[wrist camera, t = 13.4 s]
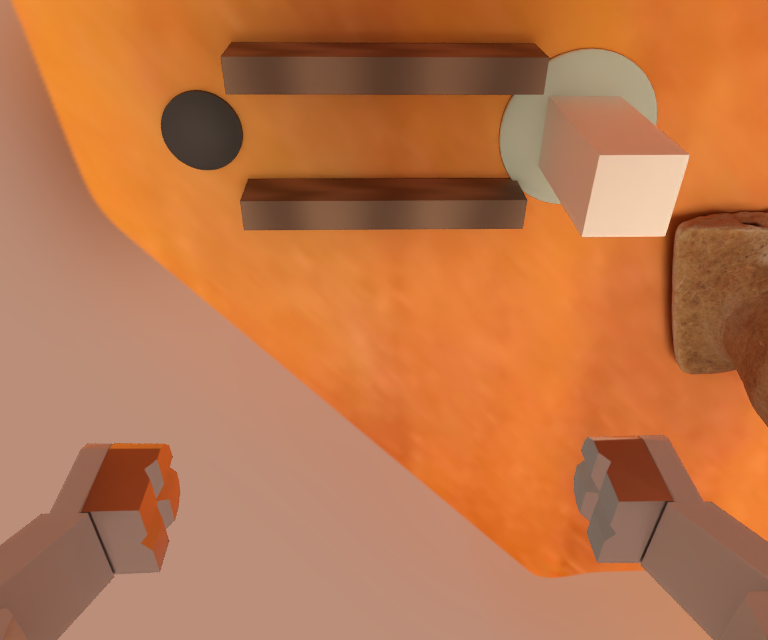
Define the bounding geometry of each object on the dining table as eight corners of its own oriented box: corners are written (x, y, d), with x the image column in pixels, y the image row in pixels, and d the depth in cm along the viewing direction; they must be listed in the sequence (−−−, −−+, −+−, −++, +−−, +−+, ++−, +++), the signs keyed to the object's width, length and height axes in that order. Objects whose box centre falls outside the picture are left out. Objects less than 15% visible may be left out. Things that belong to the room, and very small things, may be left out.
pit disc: (145, 116, 39) (144, 117, 39) (208, 74, 38) (208, 76, 37) (197, 181, 41) (196, 183, 41) (258, 144, 40) (257, 146, 40)
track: (251, 206, 43) (244, 230, 40) (231, 42, 37) (220, 56, 34) (511, 205, 43) (522, 228, 40) (534, 43, 37) (549, 57, 34)
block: (538, 165, 41) (581, 236, 33) (548, 96, 39) (599, 155, 30) (605, 165, 41) (665, 236, 33) (620, 96, 39) (689, 154, 31)
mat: (474, 101, 39) (475, 103, 39) (629, 15, 36) (631, 16, 36) (532, 225, 44) (533, 228, 44) (671, 157, 42) (674, 159, 41)
